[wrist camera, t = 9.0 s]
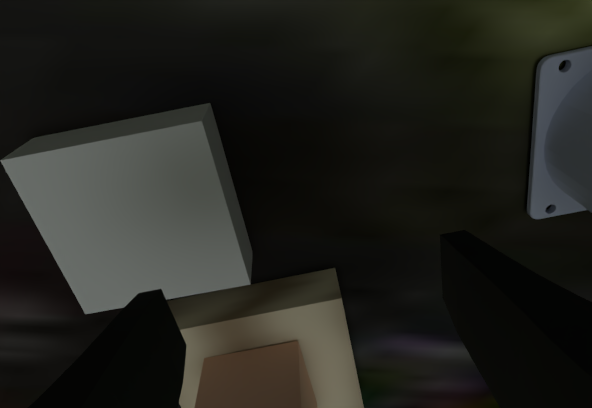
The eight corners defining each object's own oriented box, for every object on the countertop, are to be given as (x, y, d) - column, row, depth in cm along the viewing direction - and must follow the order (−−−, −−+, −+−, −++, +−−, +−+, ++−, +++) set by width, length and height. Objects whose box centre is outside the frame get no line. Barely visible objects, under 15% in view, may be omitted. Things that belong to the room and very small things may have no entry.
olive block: (333, 262, 24) (341, 298, 21) (358, 382, 28) (367, 424, 26) (158, 296, 24) (144, 336, 21) (211, 409, 29) (205, 453, 26)
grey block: (211, 100, 19) (201, 120, 16) (252, 248, 23) (250, 284, 20) (37, 135, 19) (0, 160, 17) (106, 275, 23) (85, 314, 20)
